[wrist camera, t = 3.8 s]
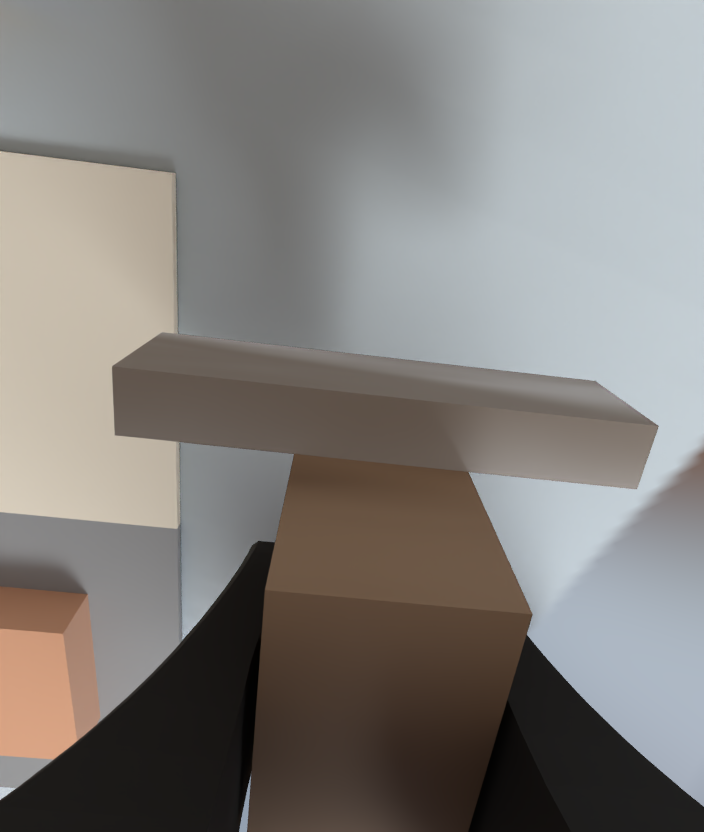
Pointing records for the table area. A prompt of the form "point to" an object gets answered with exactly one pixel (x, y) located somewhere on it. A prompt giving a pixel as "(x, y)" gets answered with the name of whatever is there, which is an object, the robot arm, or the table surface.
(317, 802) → the pusher
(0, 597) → the terracotta tile
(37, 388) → the board
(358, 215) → the table surface
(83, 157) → the table surface
